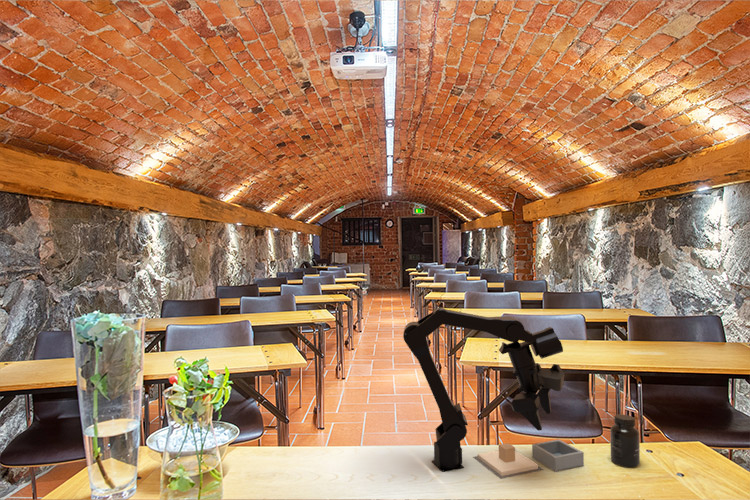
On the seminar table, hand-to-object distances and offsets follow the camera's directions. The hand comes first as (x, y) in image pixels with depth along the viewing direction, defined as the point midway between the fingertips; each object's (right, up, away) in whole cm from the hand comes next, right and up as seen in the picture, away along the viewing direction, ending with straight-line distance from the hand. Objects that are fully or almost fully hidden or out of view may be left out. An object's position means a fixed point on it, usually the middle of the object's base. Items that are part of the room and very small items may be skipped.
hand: (544, 421), depth 120 cm
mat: (-9, -12, +2) cm, 16 cm away
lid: (-9, -12, +2) cm, 15 cm away
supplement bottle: (+23, -12, +3) cm, 26 cm away
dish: (+5, -12, +3) cm, 13 cm away
